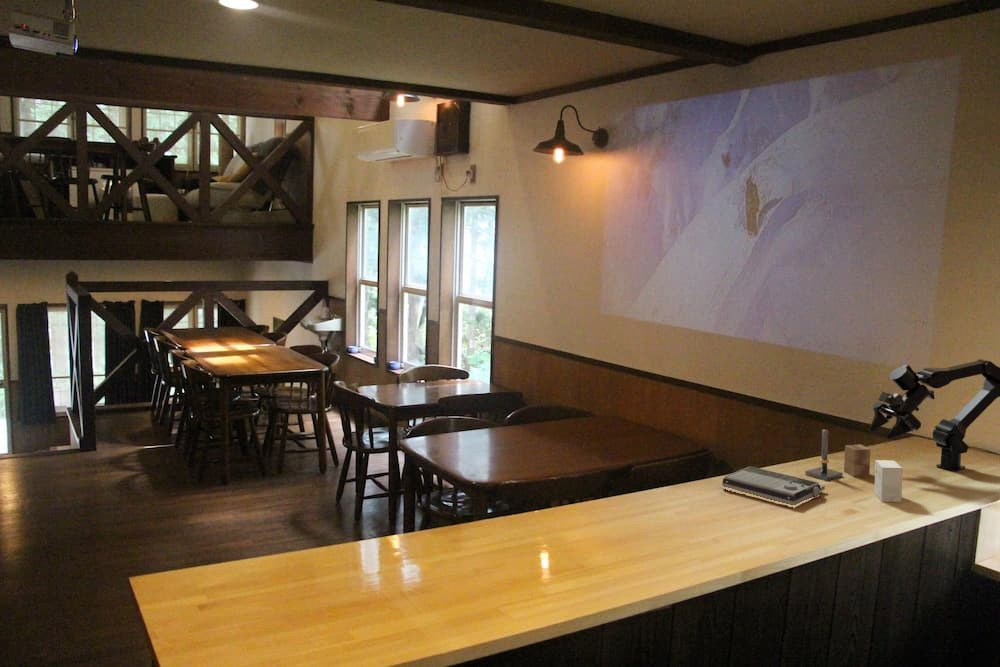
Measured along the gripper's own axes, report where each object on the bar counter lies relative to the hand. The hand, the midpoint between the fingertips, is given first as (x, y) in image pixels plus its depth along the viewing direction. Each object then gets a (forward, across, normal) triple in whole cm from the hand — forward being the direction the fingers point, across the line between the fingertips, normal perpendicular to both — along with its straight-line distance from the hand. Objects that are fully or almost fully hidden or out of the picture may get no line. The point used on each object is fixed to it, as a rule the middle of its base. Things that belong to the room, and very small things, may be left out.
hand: (878, 434), depth 256 cm
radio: (+38, +11, -19) cm, 44 cm away
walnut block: (+14, 0, +4) cm, 15 cm away
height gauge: (+22, 0, -4) cm, 22 cm away
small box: (+17, +23, +2) cm, 28 cm away
